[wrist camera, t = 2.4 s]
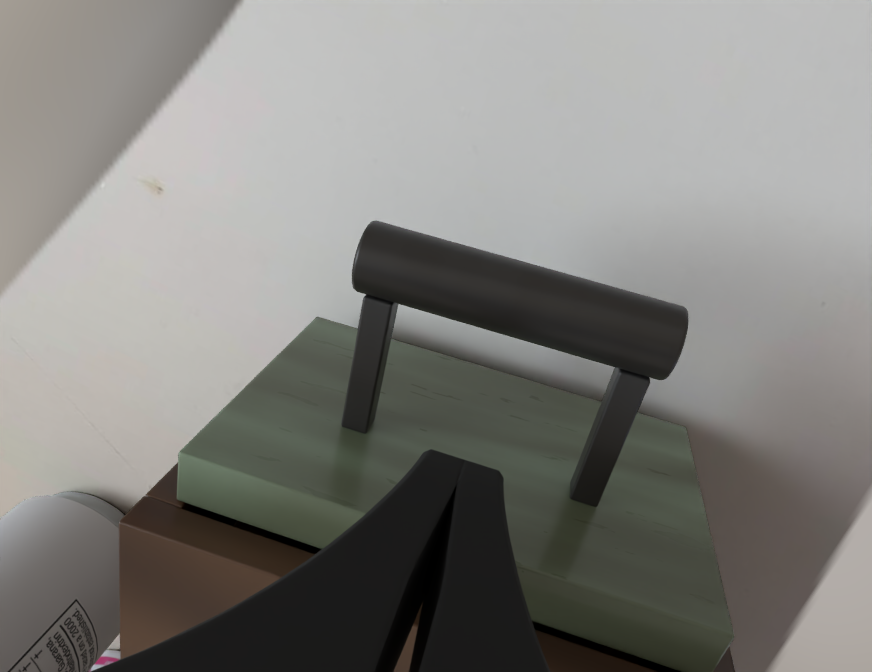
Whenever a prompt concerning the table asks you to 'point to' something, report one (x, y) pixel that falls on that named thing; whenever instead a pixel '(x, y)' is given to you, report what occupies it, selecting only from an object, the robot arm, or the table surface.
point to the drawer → (488, 443)
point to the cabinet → (247, 580)
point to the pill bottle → (106, 659)
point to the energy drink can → (58, 583)
